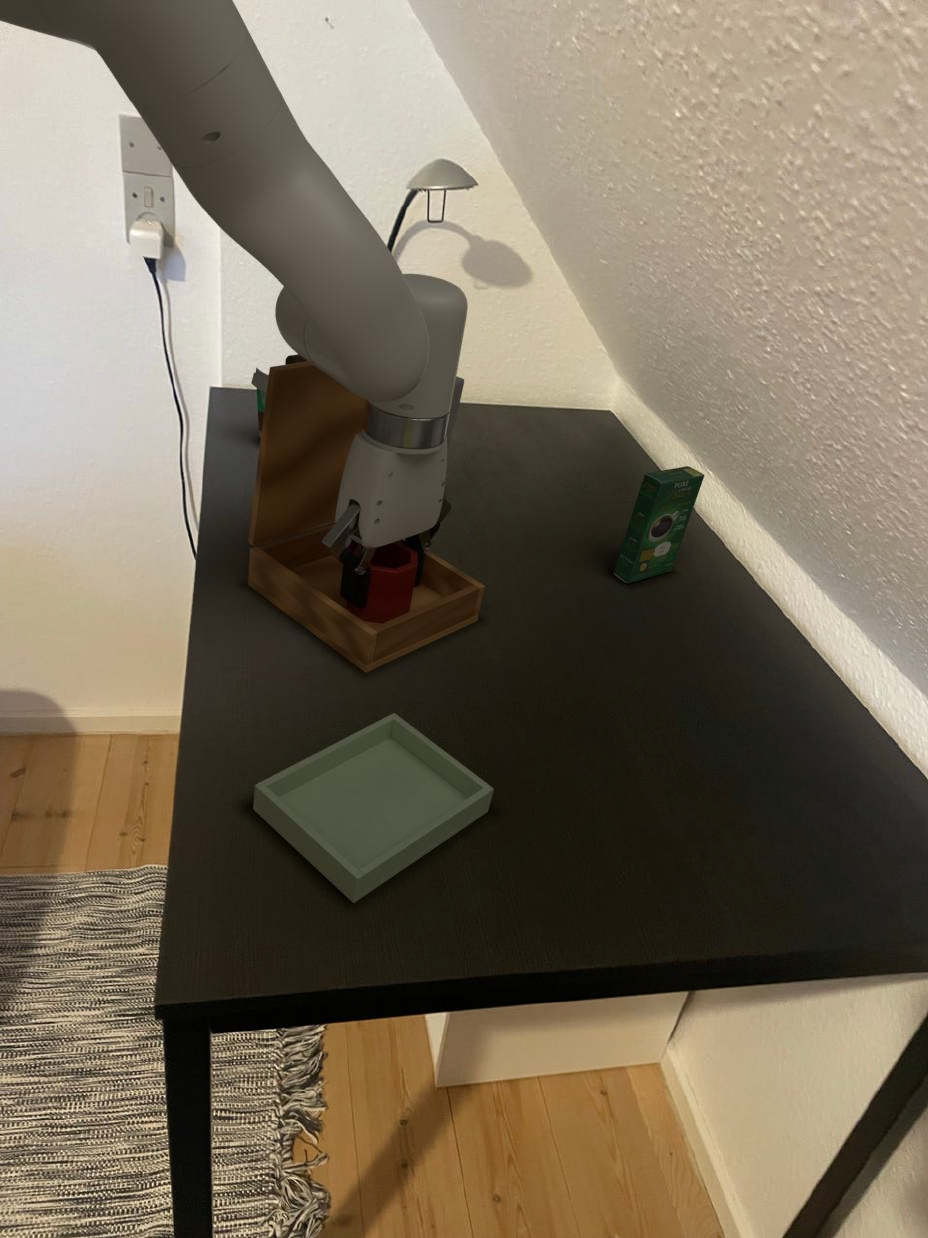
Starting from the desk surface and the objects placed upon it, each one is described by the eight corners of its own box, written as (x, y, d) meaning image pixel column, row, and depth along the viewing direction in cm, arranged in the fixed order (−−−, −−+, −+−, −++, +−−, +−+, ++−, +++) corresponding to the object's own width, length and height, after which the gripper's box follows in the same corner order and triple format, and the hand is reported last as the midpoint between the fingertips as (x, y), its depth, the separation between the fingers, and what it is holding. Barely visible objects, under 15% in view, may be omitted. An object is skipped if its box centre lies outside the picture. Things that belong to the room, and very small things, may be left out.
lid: (403, 350, 92) (369, 329, 95) (275, 370, 82) (240, 346, 84) (369, 510, 103) (339, 488, 105) (252, 546, 92) (222, 520, 95)
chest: (477, 621, 97) (485, 585, 95) (365, 673, 86) (371, 634, 84) (362, 546, 106) (366, 512, 103) (247, 585, 95) (249, 548, 93)
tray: (353, 904, 64) (357, 879, 63) (252, 809, 70) (254, 784, 69) (488, 811, 74) (494, 788, 73) (390, 735, 80) (394, 712, 78)
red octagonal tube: (376, 630, 91) (384, 577, 88) (334, 600, 94) (340, 548, 91) (421, 611, 95) (430, 560, 92) (379, 583, 98) (386, 532, 95)
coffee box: (656, 560, 115) (688, 462, 108) (673, 572, 114) (707, 473, 107) (610, 573, 111) (641, 471, 104) (628, 585, 109) (660, 482, 102)
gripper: (441, 393, 92) (415, 552, 101) (302, 422, 80) (286, 599, 90) (499, 422, 88) (465, 584, 98) (361, 456, 76) (339, 637, 86)
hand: (380, 589), depth 94 cm, fingers open, 6 cm apart
